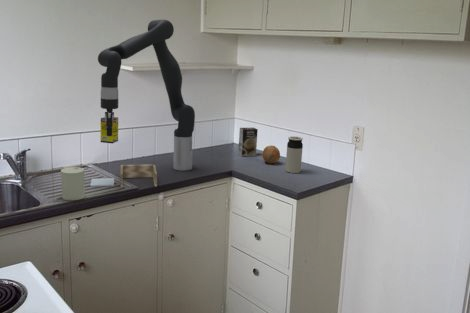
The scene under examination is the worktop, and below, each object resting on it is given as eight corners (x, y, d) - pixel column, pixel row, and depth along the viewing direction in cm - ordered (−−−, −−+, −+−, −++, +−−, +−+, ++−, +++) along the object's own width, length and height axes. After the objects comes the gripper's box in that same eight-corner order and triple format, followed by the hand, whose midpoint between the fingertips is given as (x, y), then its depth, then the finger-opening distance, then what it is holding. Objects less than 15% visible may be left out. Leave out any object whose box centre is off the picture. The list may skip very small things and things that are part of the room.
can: (89, 194, 204) (88, 167, 201) (77, 201, 195) (76, 172, 192) (69, 192, 206) (68, 164, 203) (57, 198, 197) (55, 170, 194)
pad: (114, 179, 226) (114, 178, 226) (113, 186, 217) (113, 184, 216) (91, 180, 224) (91, 178, 224) (90, 186, 214) (90, 185, 214)
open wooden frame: (154, 176, 234) (154, 164, 232) (157, 186, 219) (157, 173, 217) (120, 177, 230) (120, 165, 228) (120, 187, 215) (120, 174, 214)
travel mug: (294, 174, 249) (297, 140, 244) (282, 171, 254) (284, 137, 249) (303, 171, 254) (306, 138, 250) (291, 168, 259) (293, 135, 255)
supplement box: (112, 143, 212) (113, 119, 210) (100, 142, 213) (100, 117, 211) (118, 141, 218) (118, 117, 216) (106, 140, 219) (106, 116, 217)
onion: (278, 161, 274) (279, 143, 271) (280, 165, 264) (281, 148, 261) (261, 160, 273) (262, 143, 271) (262, 165, 263) (263, 147, 261)
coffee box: (241, 157, 279) (243, 129, 275) (237, 154, 285) (239, 127, 281) (256, 156, 282) (257, 129, 278) (252, 153, 288) (253, 127, 284)
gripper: (118, 99, 205) (118, 137, 209) (118, 95, 219) (118, 131, 223) (100, 99, 204) (100, 137, 207) (101, 95, 217) (101, 131, 221)
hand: (109, 134), depth 215 cm, fingers closed on supplement box, 7 cm apart
